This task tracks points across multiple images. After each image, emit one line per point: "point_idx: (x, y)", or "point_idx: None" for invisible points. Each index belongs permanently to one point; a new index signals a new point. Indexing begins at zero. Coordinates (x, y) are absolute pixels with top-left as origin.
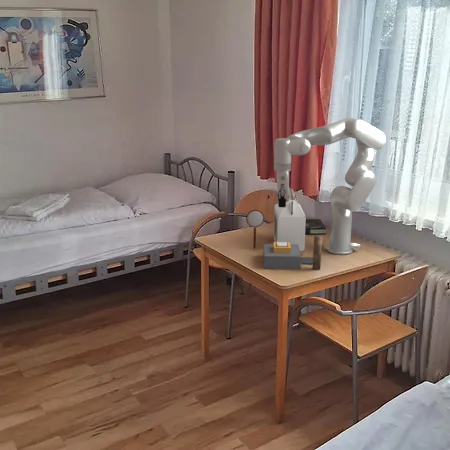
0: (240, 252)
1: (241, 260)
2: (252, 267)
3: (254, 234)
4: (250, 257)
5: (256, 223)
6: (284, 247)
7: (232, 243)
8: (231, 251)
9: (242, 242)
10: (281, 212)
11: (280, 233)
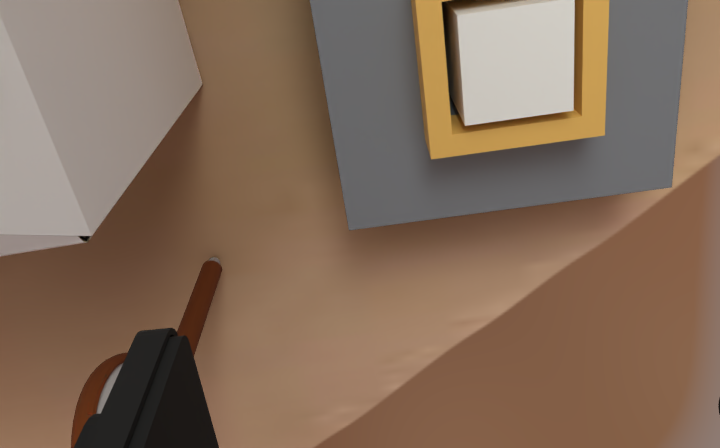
0: (304, 338)
1: (463, 311)
2: (596, 227)
3: (198, 340)
4: (394, 265)
5: None
6: (601, 26)
7: None
8: (298, 390)
9: (87, 355)
10: (27, 228)
11: (150, 113)
